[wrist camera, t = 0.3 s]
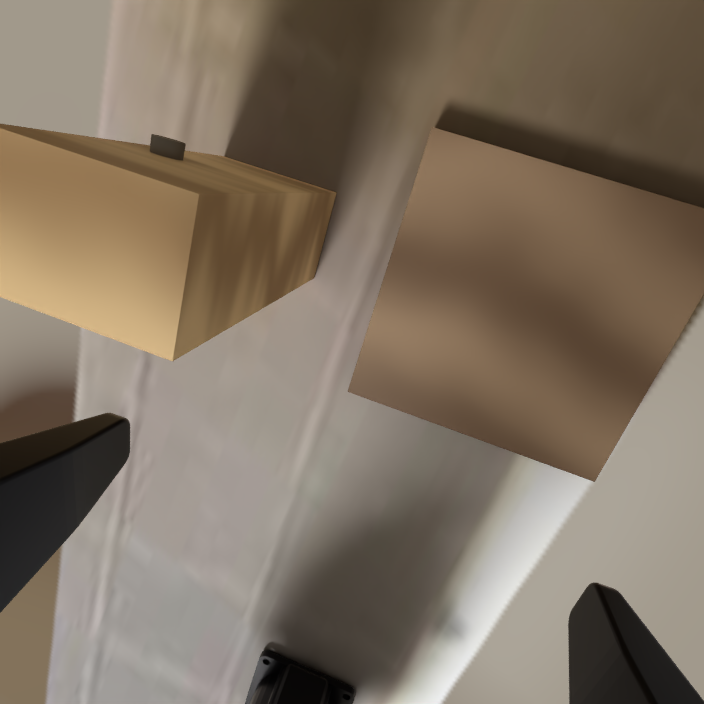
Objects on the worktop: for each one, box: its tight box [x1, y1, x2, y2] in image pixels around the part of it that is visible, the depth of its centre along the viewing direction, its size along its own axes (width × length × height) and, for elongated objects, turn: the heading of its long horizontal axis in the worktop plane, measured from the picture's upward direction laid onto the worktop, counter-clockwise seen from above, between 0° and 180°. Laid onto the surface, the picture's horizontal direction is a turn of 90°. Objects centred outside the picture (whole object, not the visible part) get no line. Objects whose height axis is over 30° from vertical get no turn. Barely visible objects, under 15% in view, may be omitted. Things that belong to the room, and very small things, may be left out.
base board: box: [348, 127, 704, 482], centre depth 21 cm, size 12×12×1 cm
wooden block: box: [0, 124, 337, 361], centre depth 17 cm, size 4×6×12 cm
